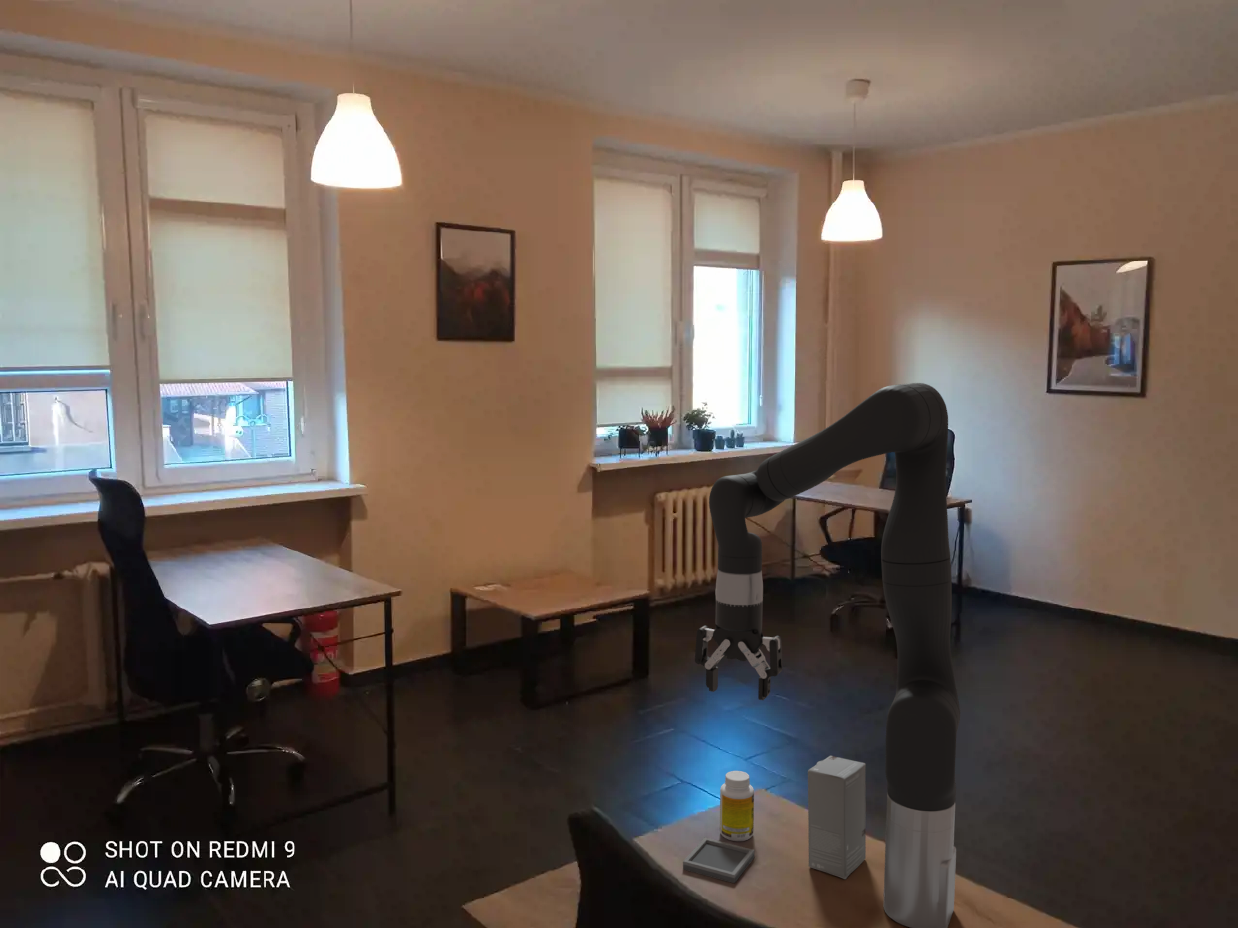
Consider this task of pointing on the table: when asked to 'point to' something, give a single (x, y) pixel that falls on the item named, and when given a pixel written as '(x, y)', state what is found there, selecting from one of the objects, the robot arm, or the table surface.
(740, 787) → the supplement bottle
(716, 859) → the charcoal tray
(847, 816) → the skincare box
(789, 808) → the table surface
